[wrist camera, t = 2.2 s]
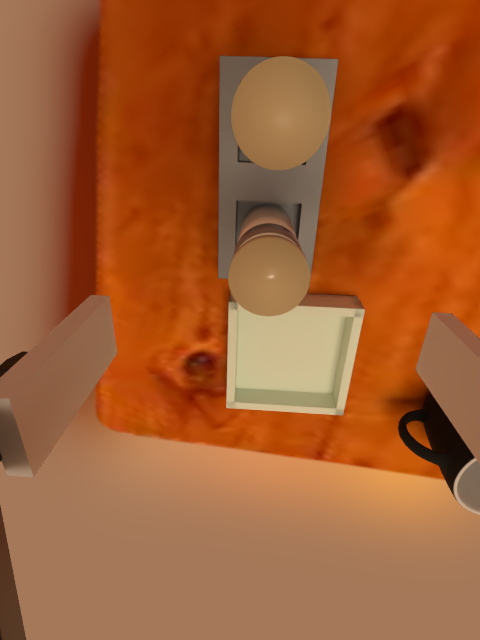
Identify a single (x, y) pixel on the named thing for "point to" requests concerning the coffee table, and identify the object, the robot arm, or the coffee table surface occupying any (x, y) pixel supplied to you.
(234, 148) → the block
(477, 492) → the mug
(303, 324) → the parts tray
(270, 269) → the fuse
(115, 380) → the coffee table surface
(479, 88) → the coffee table surface
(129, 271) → the coffee table surface
